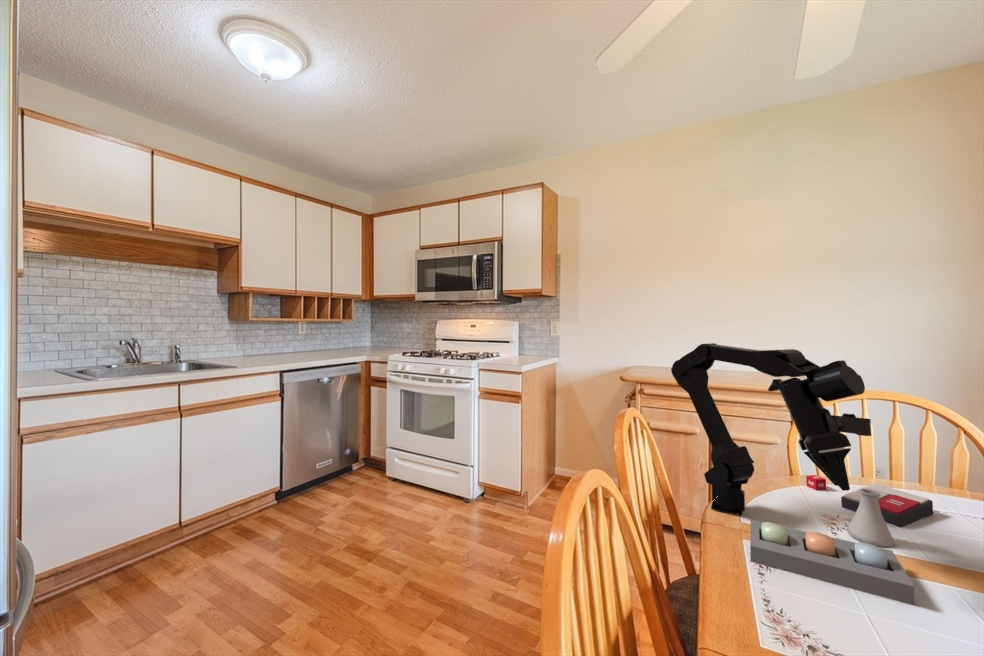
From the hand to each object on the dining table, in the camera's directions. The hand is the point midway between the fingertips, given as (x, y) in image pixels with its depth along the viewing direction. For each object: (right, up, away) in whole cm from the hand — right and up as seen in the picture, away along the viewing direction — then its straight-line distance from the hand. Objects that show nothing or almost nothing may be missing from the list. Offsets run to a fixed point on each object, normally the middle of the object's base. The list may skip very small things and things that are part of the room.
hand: (842, 487), depth 74 cm
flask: (+13, -14, +8) cm, 21 cm away
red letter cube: (+23, -14, +34) cm, 43 cm away
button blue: (+1, -12, -5) cm, 13 cm away
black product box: (+29, -14, +20) cm, 38 cm away
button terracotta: (-5, -12, -1) cm, 13 cm away
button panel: (-5, -14, -1) cm, 15 cm away
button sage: (-11, -13, +3) cm, 17 cm away
